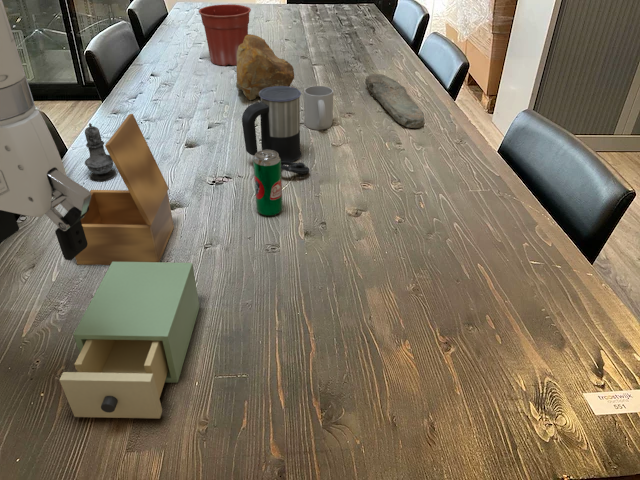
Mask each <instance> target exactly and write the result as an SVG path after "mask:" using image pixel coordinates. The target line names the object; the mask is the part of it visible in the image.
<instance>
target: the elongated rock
mask: <svg viewBox="0 0 640 480" xmlns="http://www.w3.org/2000/svg"><path fill="white" fill-rule="evenodd" d="M364 83H365V85H366V87H367V89H368V91H369V92H370V93H371V95H370V96H371V97H373V98H375V99H376V101H377V102H378V103H380V104H381V106H383V109H384V110H386V111H387V112H388V114H389V115H390V116H391V117H392V118H393V119H394V121H395V122H397V123H398V124H400V125H402V126H404V127H406V128H410V129H419V128H422V127H423V126H424V124H425V115H424V111H422V110H421V109H420V108H419V106H418V104H417V103H416V102H415V101H414V100H413V99H412V97H411V96H410V95H409V94H408V92H407V88H406V87H405V86H403V85H402V84H400V82H397V80H395V79H393V78H391V77H389V76H387V75H385V74H382V73H371V74H369V75H367V76H366V77H365V81H364Z"/></svg>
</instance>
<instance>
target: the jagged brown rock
mask: <svg viewBox="0 0 640 480" xmlns="http://www.w3.org/2000/svg"><path fill="white" fill-rule="evenodd" d="M235 71H236V73H235V74H236V76H235V77H236V82H235V87H236V88H237V90H239V91H240V90H241V91H242V92H243V96H244V97H245V98H246V99H247V100H249V101H253V100H256V98H257V97H259V98H261V97H260V96H259V92H260V91H261V90H262V89H265V88H268V87H273V86H288V87H291V85H292V83H293V81H294V80H295V72H294V71H295V70H294V67H293V65H292V64H291V63H290V62H288V61H287V60H286V59H284V58H279V57H278V56H277V55H276V54H275V52H274V51H273V49H272V48H271V46H270V45H269V44H268V43H267V42H266V40H265V39H264V38H263V37H261V36H258V35H255V34H249V33H248V34H247V35H246V36H245V38H244V41H243V43H242V44H240V45H239V46H238V50H237V65H236V70H235Z"/></svg>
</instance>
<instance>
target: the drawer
mask: <svg viewBox="0 0 640 480" xmlns="http://www.w3.org/2000/svg"><path fill="white" fill-rule="evenodd" d="M73 365H74V367H75V369H76V371H63V372H62V374H61V376H60V378H59V383H60V385H61V387H62V390H63V392H64V395H65V397H66V400H67V402H68V404H69V407H70V410H71V411H72V414H73V417H74V418H108V419H109V418H110V419H111V418H113V419H118V418H119V419H161V417H162V414H163V408H162V403H161V399H160V398H161V396H162V392H163V388H164V386H165V383H166V382H165V380H166V376H167V373H168V370H169V367H168V363H167V358H166V354H165V350H164V345H163V341H161V340H101V339H87V340H86V342H85V344H84V346H83V348H82V350H81V352H80V353H79V354H78V356H77V358H76V360H75V362H74V364H73Z"/></svg>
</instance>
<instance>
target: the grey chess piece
mask: <svg viewBox="0 0 640 480" xmlns="http://www.w3.org/2000/svg"><path fill="white" fill-rule="evenodd" d="M84 135H85V140H86V144H85V147H86V148H87V149H88V152H89V157H88V158H86V159H85V160H84V165H85V166H86V167H87V169H88V171H90V172H91V174H89V175H90V176H89V179H90V180H91V181H93V182H100V183H101V182H107V181H110V180H112V179H114V178H115V177H116V176H117V172H116V171H115V170H114V169H113V167H114V162H113V160H112V158H111V156H110V155H109V154H107V153H106V151H105V142H104V141H103V140H102V136H101V132H100V129H99V128H98V127H96V126H94V125H93V124H92V123H91V122H89V123H88V127H86V128H85V129H84Z"/></svg>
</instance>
